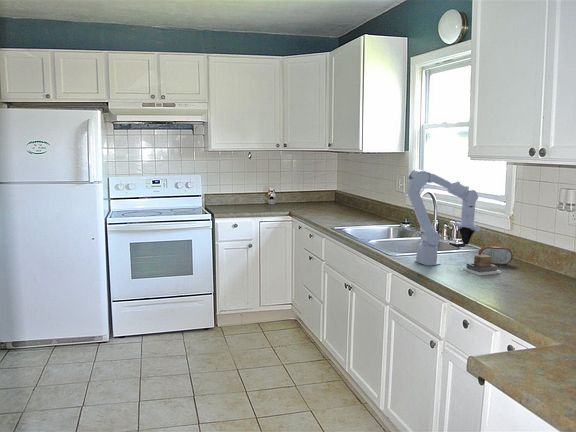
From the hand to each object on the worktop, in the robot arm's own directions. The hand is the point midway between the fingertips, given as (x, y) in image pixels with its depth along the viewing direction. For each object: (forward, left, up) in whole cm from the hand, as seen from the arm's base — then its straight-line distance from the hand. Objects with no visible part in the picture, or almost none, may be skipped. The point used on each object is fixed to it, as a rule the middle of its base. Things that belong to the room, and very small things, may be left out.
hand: (465, 244), depth 250 cm
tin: (+5, +14, -10) cm, 18 cm away
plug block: (+14, -3, -8) cm, 17 cm away
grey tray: (+14, -3, -9) cm, 17 cm away
